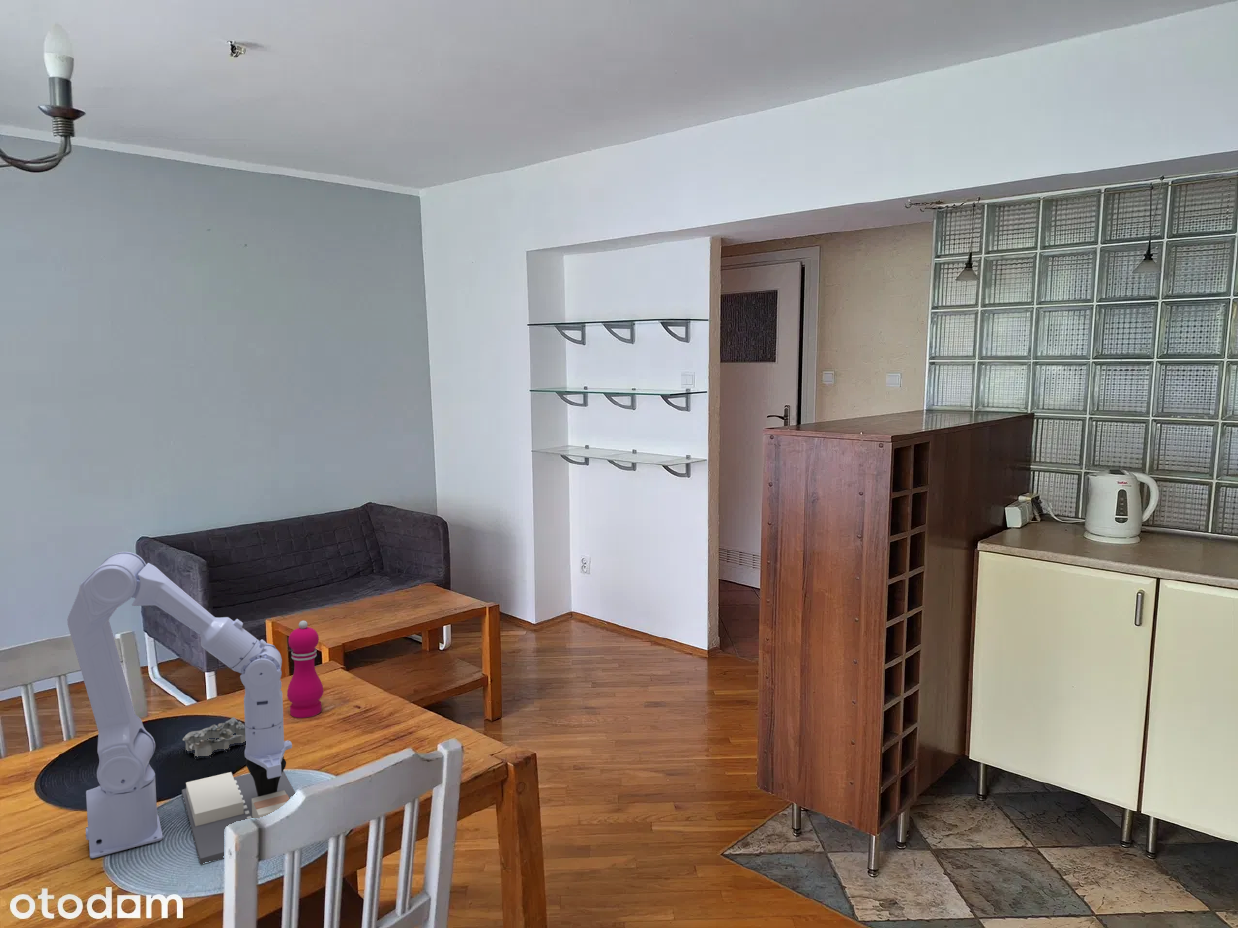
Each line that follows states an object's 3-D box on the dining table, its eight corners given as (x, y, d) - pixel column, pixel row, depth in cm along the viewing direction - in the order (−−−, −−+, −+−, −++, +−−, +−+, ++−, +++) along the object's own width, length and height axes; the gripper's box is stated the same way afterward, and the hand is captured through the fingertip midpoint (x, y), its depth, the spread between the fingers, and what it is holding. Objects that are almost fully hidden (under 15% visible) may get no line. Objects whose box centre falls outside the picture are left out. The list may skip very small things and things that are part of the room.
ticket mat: (200, 864, 121) (199, 845, 121) (182, 795, 141) (181, 778, 141) (313, 832, 130) (313, 814, 130) (281, 771, 150) (280, 755, 150)
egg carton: (198, 763, 154) (196, 742, 153) (180, 751, 158) (179, 730, 158) (254, 744, 162) (253, 723, 161) (236, 733, 166) (235, 713, 166)
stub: (259, 833, 128) (258, 813, 128) (252, 816, 133) (251, 797, 133) (293, 824, 131) (292, 804, 130) (285, 807, 136) (284, 788, 135)
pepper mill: (286, 708, 178) (283, 617, 176) (322, 703, 181) (319, 614, 179) (288, 721, 172) (285, 627, 169) (325, 715, 175) (322, 623, 172)
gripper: (300, 732, 130) (303, 814, 131) (280, 701, 142) (283, 777, 143) (252, 743, 126) (255, 827, 127) (236, 710, 138) (239, 788, 140)
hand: (267, 801), depth 135 cm, fingers closed
